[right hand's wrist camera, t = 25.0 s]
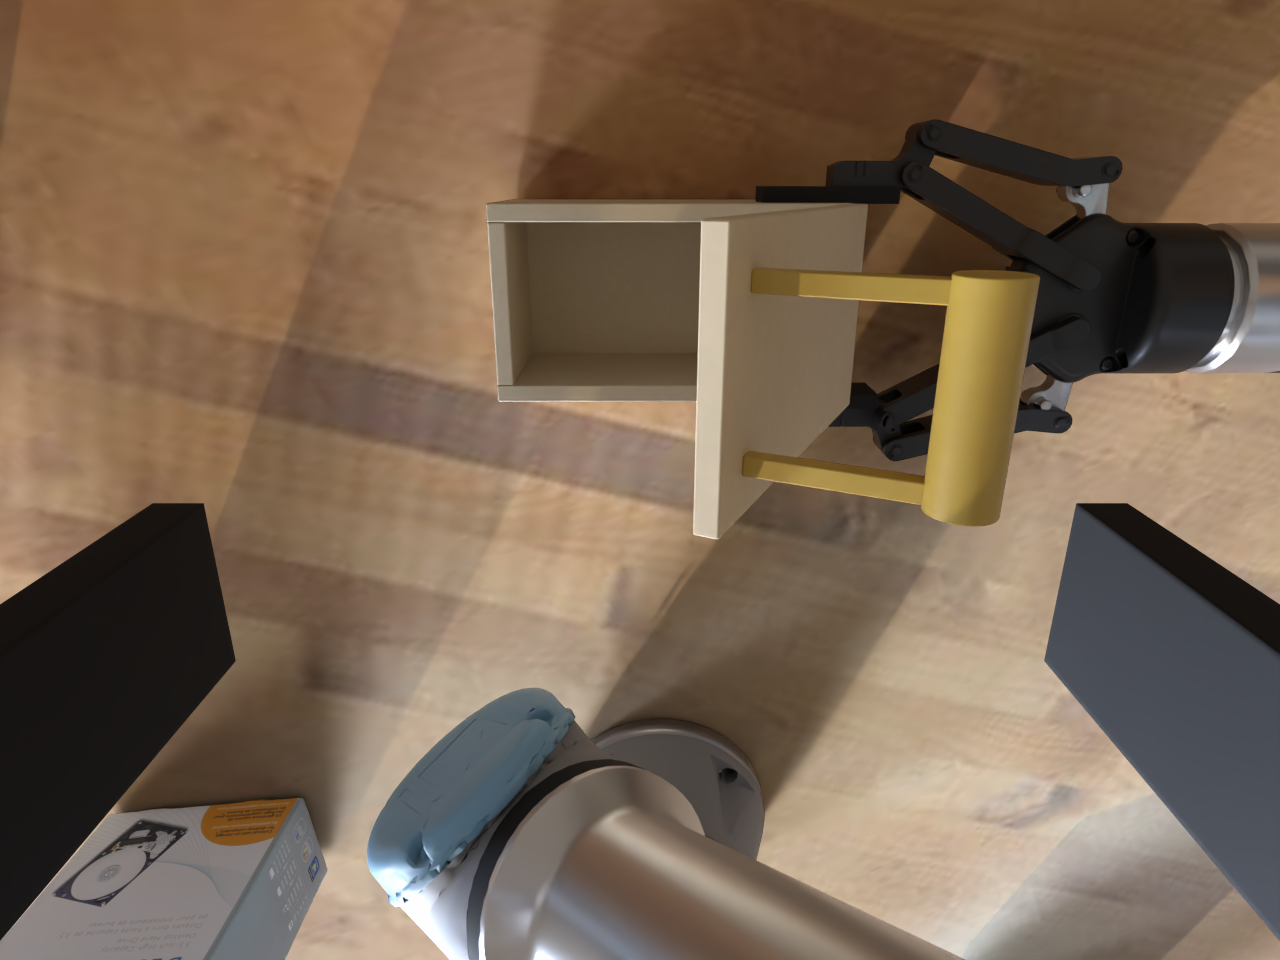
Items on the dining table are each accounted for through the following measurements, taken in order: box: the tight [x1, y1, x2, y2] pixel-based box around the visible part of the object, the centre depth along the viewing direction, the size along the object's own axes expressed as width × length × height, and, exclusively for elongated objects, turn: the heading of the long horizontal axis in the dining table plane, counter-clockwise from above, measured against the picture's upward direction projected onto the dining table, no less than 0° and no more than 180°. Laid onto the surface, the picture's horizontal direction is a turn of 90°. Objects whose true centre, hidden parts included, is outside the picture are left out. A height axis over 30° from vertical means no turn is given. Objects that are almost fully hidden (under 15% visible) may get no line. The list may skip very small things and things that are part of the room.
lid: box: [693, 204, 1040, 539], centre depth 29 cm, size 18×10×9 cm
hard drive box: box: [0, 798, 327, 960], centre depth 52 cm, size 16×8×20 cm, turn 97°
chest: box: [486, 199, 854, 402], centre depth 43 cm, size 17×10×9 cm, turn 90°
